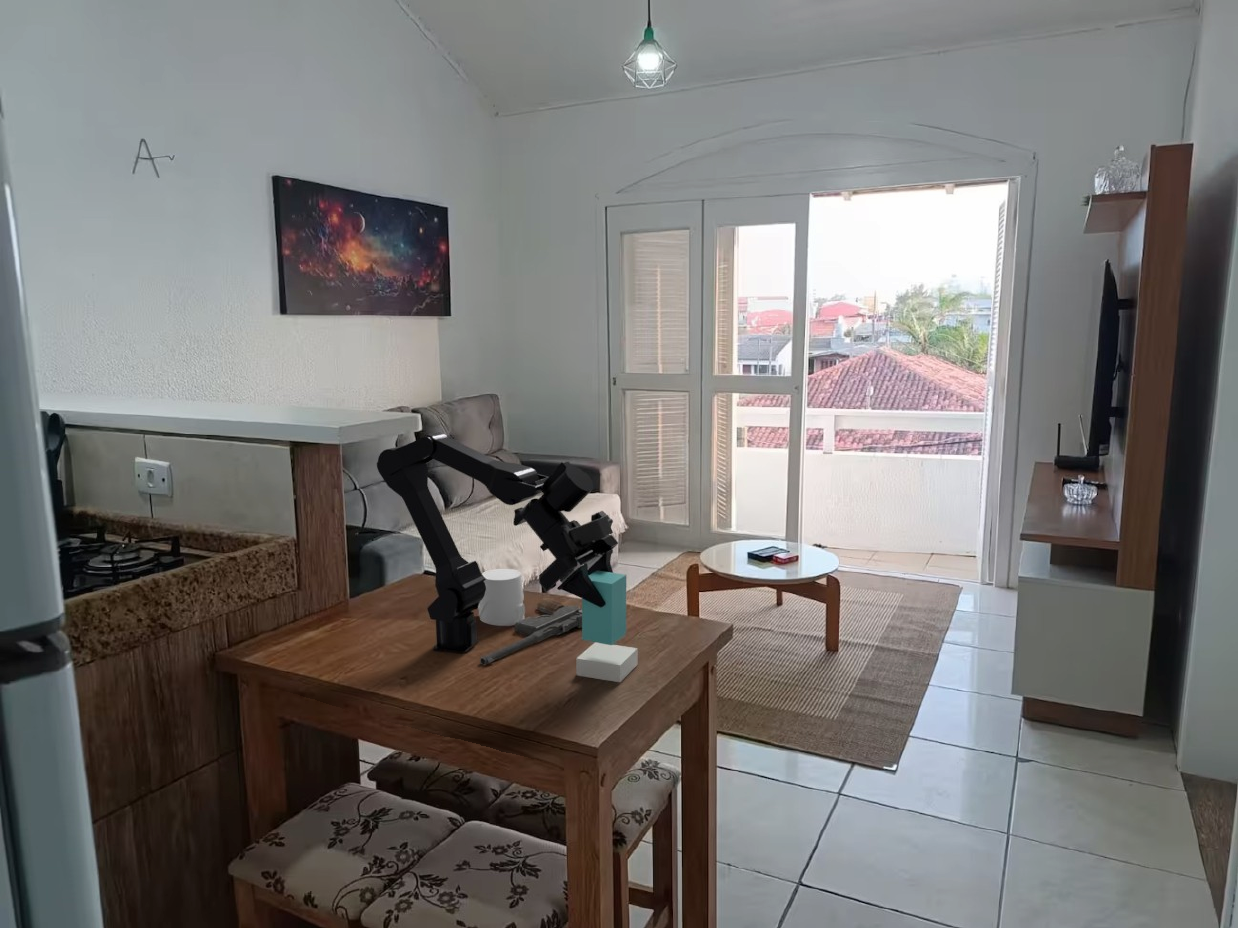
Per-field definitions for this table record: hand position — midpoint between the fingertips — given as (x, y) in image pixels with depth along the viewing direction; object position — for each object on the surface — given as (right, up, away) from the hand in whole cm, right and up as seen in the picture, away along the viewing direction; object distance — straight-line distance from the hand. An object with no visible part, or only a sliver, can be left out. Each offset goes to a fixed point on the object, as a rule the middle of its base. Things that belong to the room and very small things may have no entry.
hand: (611, 600), depth 145 cm
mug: (-23, -9, +31) cm, 40 cm away
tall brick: (-1, -6, +2) cm, 7 cm away
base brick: (-1, -13, +5) cm, 14 cm away
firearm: (-17, -10, +23) cm, 30 cm away
